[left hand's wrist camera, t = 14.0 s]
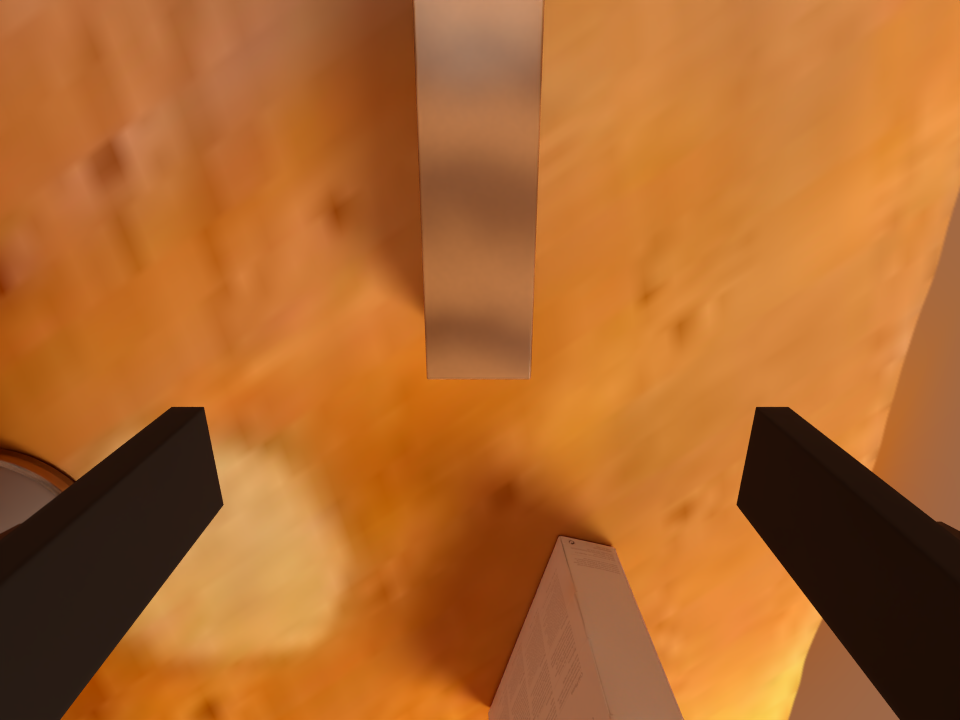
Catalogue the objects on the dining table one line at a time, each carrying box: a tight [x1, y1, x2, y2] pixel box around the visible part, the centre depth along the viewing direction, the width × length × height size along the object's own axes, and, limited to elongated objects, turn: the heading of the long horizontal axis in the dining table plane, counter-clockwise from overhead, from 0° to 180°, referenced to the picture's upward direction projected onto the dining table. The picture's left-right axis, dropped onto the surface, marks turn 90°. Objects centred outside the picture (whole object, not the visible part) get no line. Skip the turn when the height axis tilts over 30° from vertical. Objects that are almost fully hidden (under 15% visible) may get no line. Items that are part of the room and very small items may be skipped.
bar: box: [413, 0, 544, 379], centre depth 27 cm, size 28×6×9 cm, turn 0°
